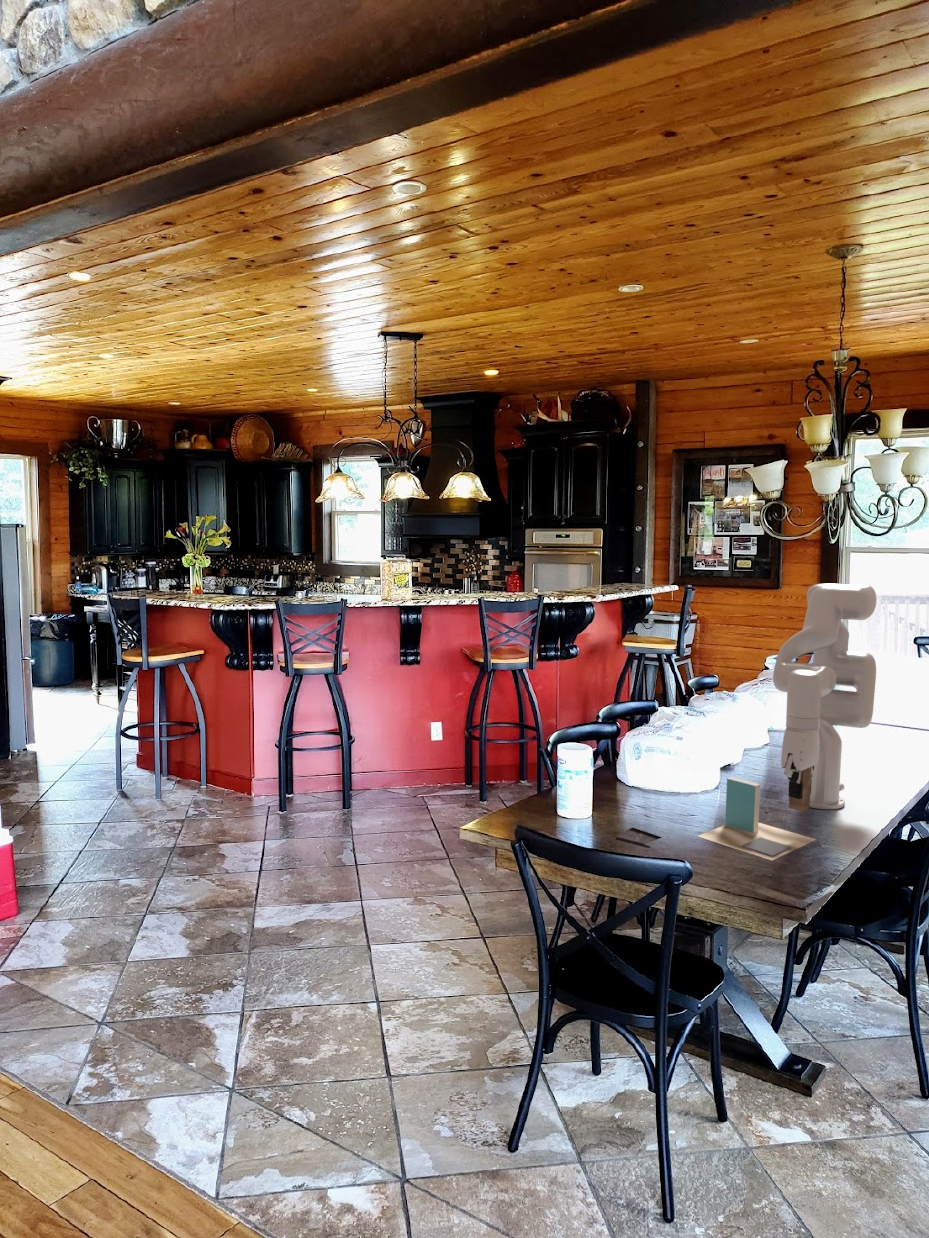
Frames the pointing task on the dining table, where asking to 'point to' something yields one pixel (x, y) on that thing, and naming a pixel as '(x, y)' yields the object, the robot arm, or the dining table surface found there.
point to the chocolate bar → (637, 837)
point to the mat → (766, 847)
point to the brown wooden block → (806, 786)
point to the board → (739, 837)
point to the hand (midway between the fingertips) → (799, 794)
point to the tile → (742, 804)
